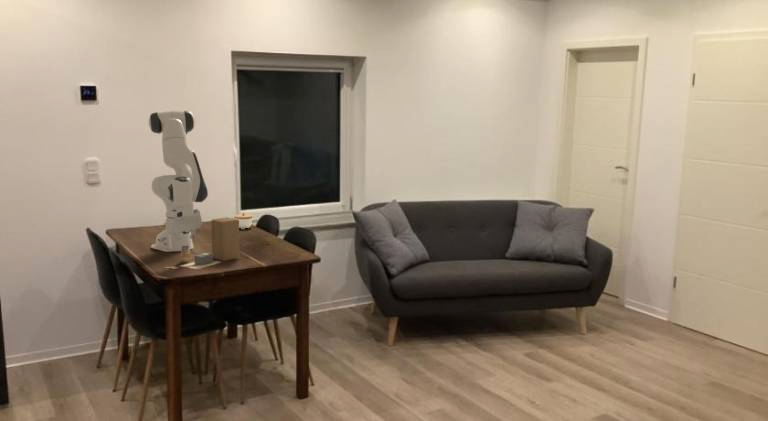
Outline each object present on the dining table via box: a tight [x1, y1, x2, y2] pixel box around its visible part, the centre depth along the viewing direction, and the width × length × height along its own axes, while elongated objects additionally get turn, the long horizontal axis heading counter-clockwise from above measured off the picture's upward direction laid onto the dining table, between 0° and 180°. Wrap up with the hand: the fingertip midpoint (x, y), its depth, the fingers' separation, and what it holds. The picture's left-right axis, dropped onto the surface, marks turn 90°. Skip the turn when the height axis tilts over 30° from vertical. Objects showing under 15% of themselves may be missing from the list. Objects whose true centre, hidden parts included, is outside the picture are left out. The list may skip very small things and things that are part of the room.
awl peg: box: [180, 245, 191, 264], centre depth 318 cm, size 4×4×9 cm
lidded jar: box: [233, 212, 253, 230], centre depth 406 cm, size 11×11×9 cm
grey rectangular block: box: [193, 252, 214, 265], centre depth 317 cm, size 5×7×4 cm
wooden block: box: [210, 216, 241, 261], centre depth 328 cm, size 10×10×20 cm
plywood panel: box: [179, 260, 222, 270], centre depth 315 cm, size 12×16×1 cm
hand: (185, 240), depth 317 cm, fingers open, 8 cm apart
